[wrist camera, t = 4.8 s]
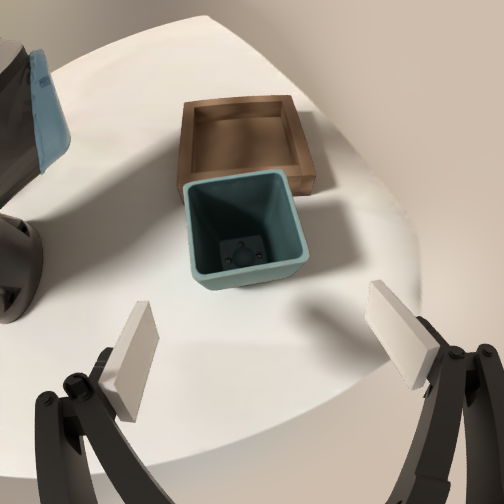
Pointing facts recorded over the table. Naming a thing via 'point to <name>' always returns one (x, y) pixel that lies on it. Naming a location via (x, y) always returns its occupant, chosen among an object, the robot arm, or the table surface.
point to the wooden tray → (244, 141)
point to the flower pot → (243, 229)
